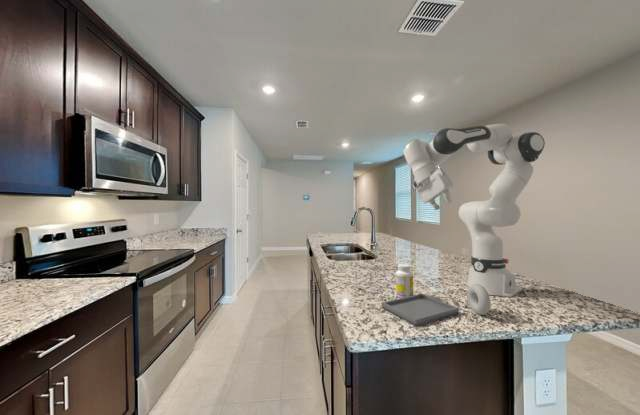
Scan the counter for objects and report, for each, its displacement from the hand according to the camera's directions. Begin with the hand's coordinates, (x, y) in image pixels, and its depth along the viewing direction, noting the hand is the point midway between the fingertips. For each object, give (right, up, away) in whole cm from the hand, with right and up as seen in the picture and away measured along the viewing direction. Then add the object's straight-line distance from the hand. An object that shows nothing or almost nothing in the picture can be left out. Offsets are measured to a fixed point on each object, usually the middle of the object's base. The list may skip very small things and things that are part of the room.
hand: (443, 206), depth 99 cm
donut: (+6, -37, -13) cm, 40 cm away
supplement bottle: (-14, -37, +4) cm, 40 cm away
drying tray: (-14, -37, -10) cm, 41 cm away
